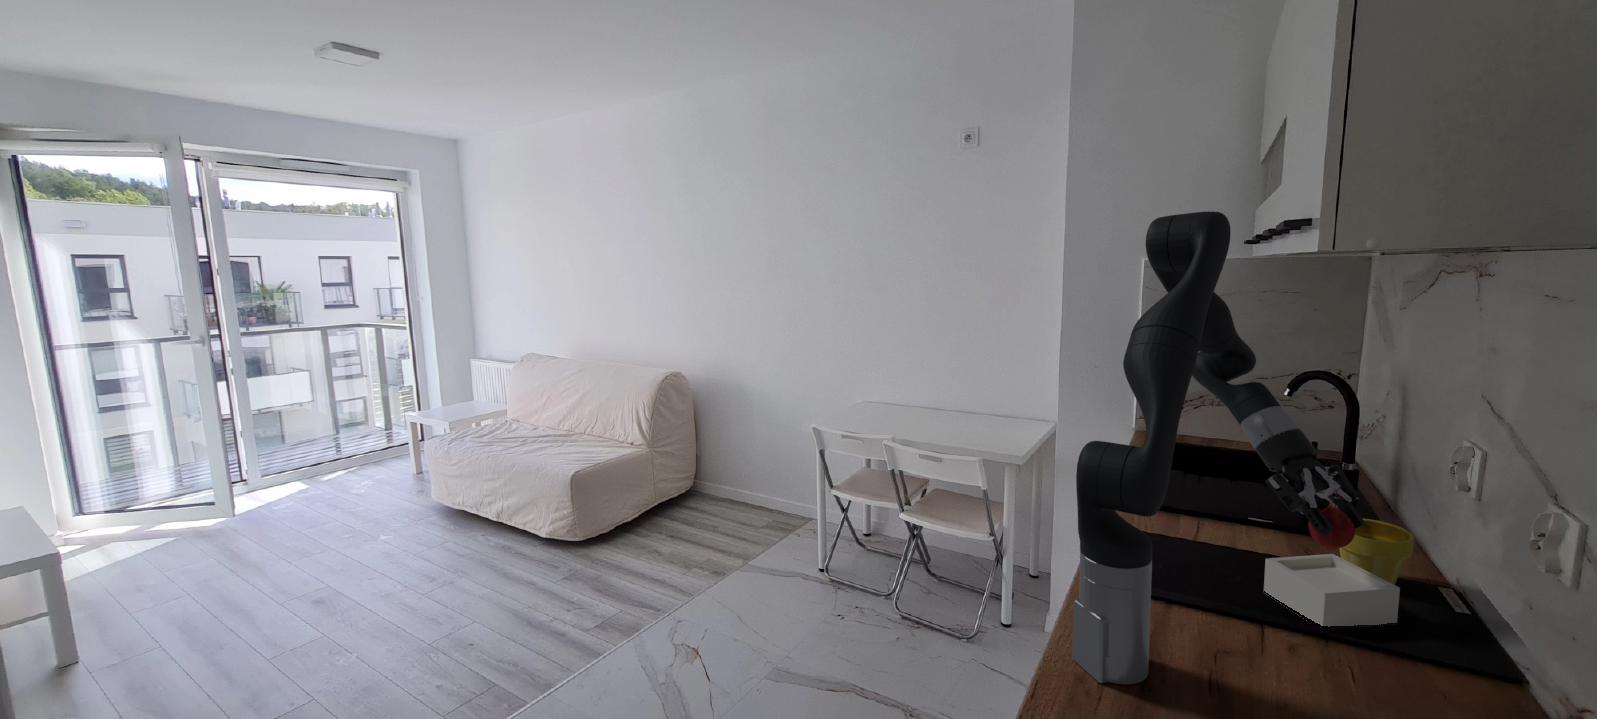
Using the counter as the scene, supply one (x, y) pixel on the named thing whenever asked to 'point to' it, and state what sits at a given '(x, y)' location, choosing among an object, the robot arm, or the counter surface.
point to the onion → (1335, 529)
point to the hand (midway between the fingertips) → (1343, 529)
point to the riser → (1331, 590)
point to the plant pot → (1379, 549)
